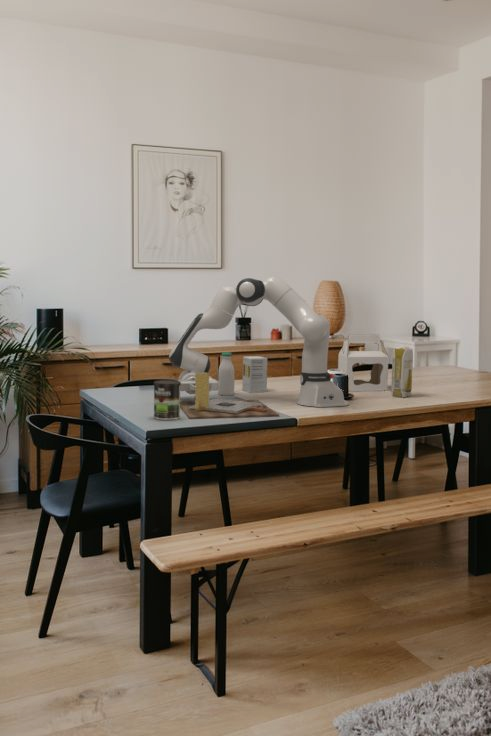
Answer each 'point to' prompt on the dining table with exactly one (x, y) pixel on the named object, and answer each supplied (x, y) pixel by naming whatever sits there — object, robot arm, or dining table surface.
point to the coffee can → (167, 399)
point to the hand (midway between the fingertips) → (197, 388)
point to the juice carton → (402, 372)
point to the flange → (215, 404)
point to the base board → (214, 414)
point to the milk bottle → (226, 375)
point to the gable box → (368, 357)
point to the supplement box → (254, 374)
